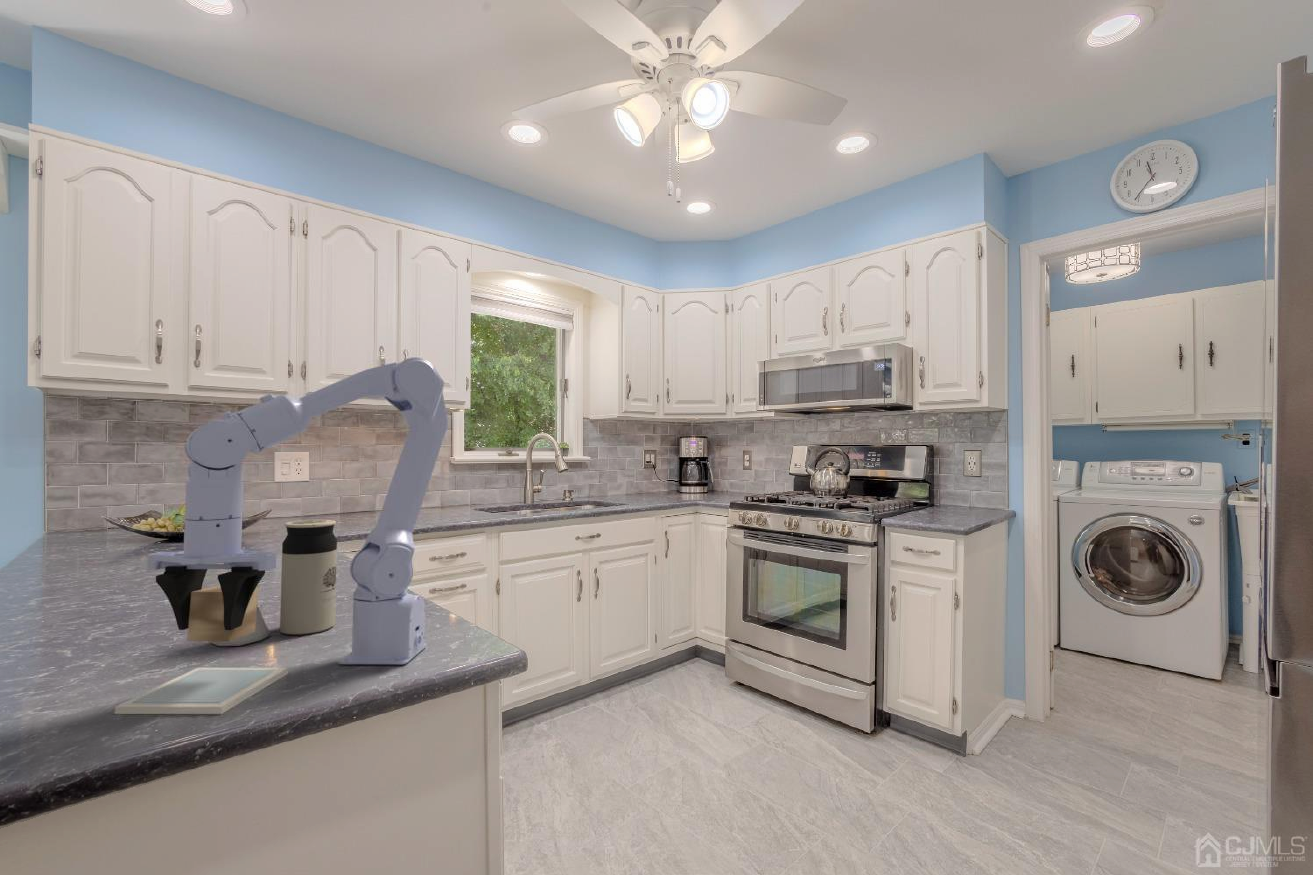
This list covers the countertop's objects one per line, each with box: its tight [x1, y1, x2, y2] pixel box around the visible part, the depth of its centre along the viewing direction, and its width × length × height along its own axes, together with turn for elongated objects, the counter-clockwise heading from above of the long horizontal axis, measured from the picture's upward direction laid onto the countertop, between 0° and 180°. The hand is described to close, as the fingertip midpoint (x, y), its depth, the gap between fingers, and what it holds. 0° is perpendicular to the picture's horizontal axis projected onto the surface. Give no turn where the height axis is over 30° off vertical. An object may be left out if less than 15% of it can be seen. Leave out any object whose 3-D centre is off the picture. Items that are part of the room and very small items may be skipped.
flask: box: [210, 604, 271, 647], centre depth 91 cm, size 7×7×10 cm
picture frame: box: [114, 667, 289, 715], centre depth 71 cm, size 12×12×1 cm
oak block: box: [186, 585, 259, 643], centre depth 74 cm, size 5×5×6 cm
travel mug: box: [279, 519, 338, 636], centre depth 97 cm, size 8×8×18 cm
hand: (210, 627), depth 71 cm, fingers closed on oak block, 5 cm apart
